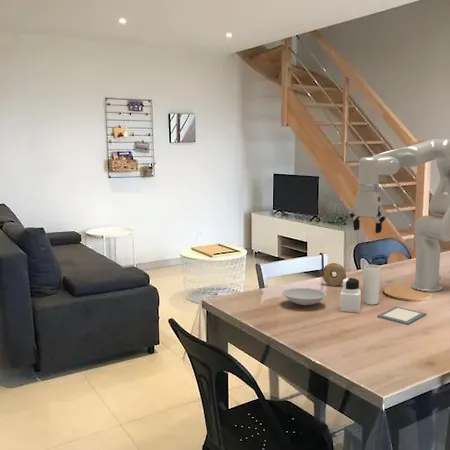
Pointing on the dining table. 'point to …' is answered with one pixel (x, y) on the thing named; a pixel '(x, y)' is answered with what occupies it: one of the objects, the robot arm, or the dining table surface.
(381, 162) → the robot arm
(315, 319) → the dining table surface
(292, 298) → the dish
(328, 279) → the brown thick ring
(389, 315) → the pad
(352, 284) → the medicine bottle
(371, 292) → the drinking glass
